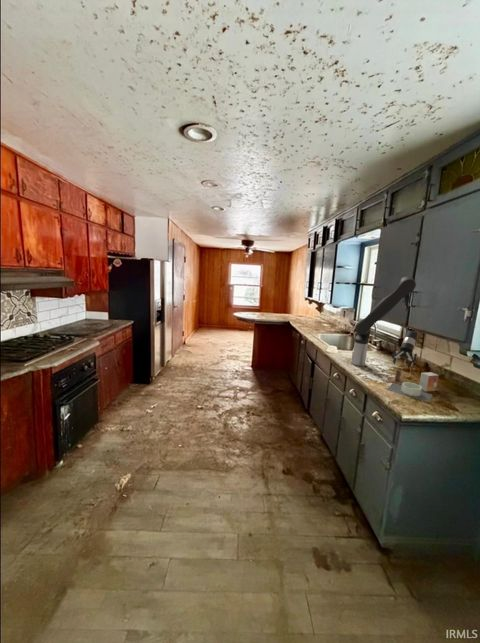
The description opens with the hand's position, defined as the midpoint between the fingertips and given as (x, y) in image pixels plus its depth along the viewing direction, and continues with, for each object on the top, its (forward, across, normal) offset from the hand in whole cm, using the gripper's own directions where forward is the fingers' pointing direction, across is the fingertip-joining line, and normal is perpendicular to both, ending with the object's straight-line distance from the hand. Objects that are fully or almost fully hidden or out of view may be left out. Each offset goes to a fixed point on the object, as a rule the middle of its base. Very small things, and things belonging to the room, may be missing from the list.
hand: (401, 365), depth 192 cm
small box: (+10, +17, +5) cm, 20 cm away
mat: (+20, +10, -5) cm, 23 cm away
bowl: (+21, +11, -6) cm, 24 cm away
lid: (+10, 0, +5) cm, 11 cm away
